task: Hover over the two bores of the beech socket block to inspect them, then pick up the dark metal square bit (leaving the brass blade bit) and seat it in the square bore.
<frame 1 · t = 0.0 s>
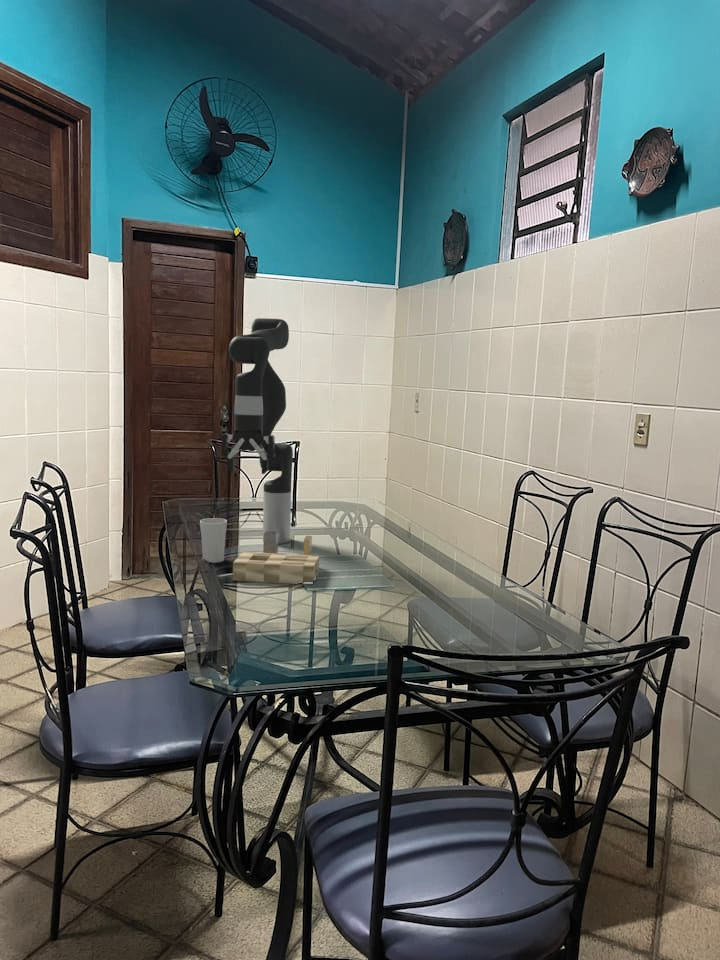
hand: (248, 473, 187), 29 cm above the table, fingers open, 8 cm apart
square bit: (270, 565, 205), on the table
blade bit: (307, 567, 204), on the table
cup: (213, 560, 209), on the table
socket block: (276, 576, 193), on the table
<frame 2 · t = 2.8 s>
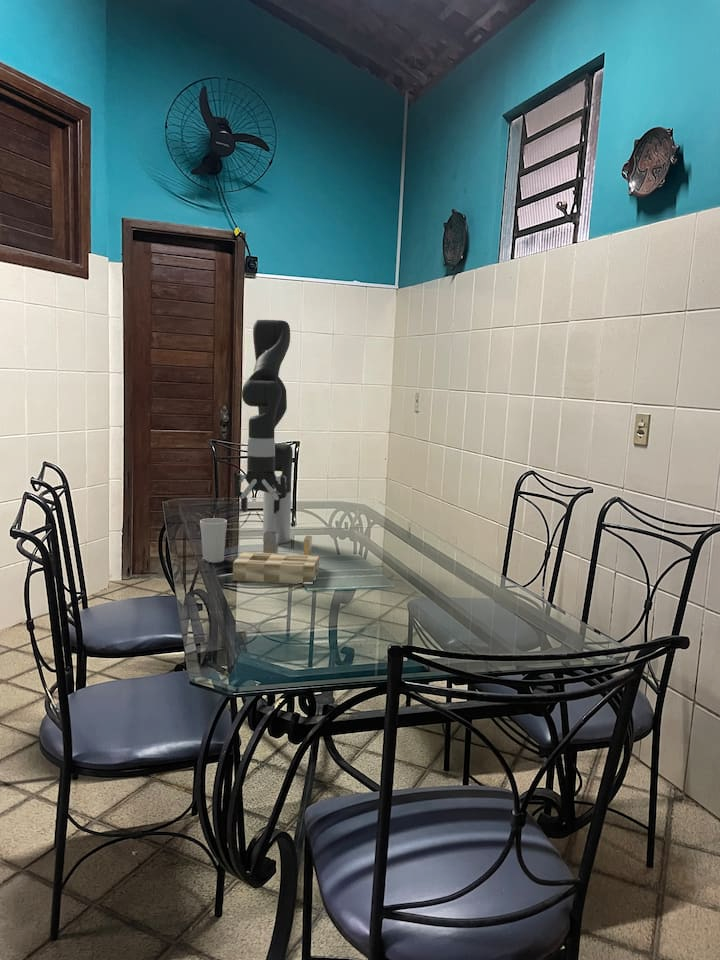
hand: (260, 512, 192), 18 cm above the table, fingers open, 8 cm apart
nothing on the table moved.
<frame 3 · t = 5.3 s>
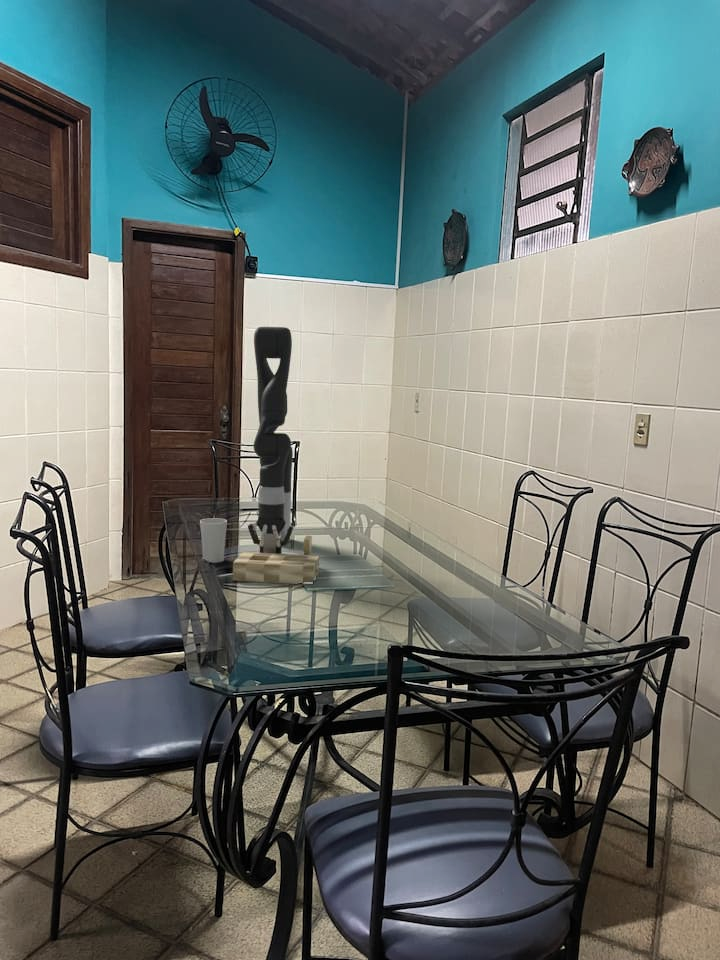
hand: (270, 558, 204), 2 cm above the table, fingers closed on square bit, 3 cm apart
square bit: (270, 565, 205), on the table, touching gripper
everything else where it was.
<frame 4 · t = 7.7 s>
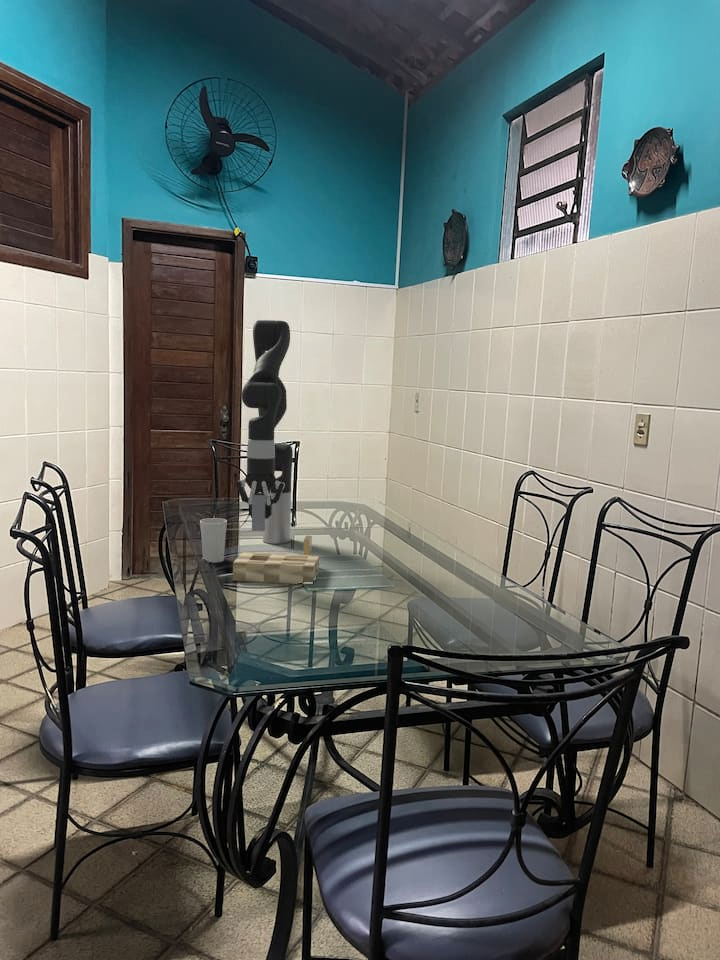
hand: (260, 517, 191), 17 cm above the table, fingers closed on square bit, 3 cm apart
square bit: (259, 529, 191), point 13 cm above the table, touching gripper
everything else where it was.
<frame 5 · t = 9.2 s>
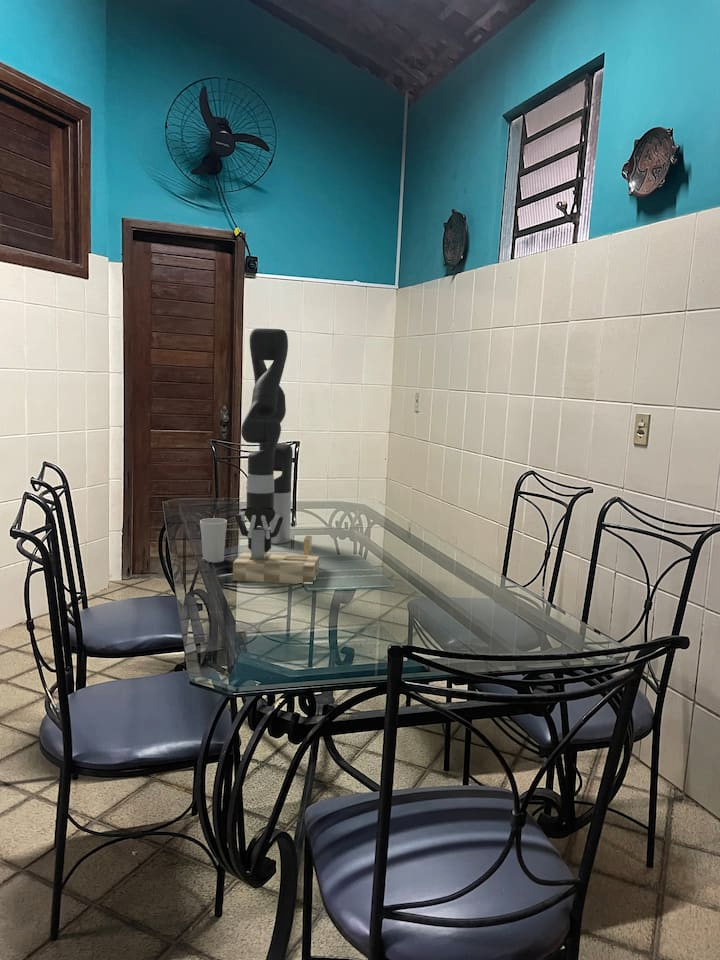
hand: (259, 550, 193), 7 cm above the table, fingers closed on square bit, 3 cm apart
square bit: (259, 563, 193), point 4 cm above the table, touching gripper
everything else where it was.
when the fingers open (6 cm above the table, at t = 10.3 s): square bit drops 2 cm, resting in socket block.
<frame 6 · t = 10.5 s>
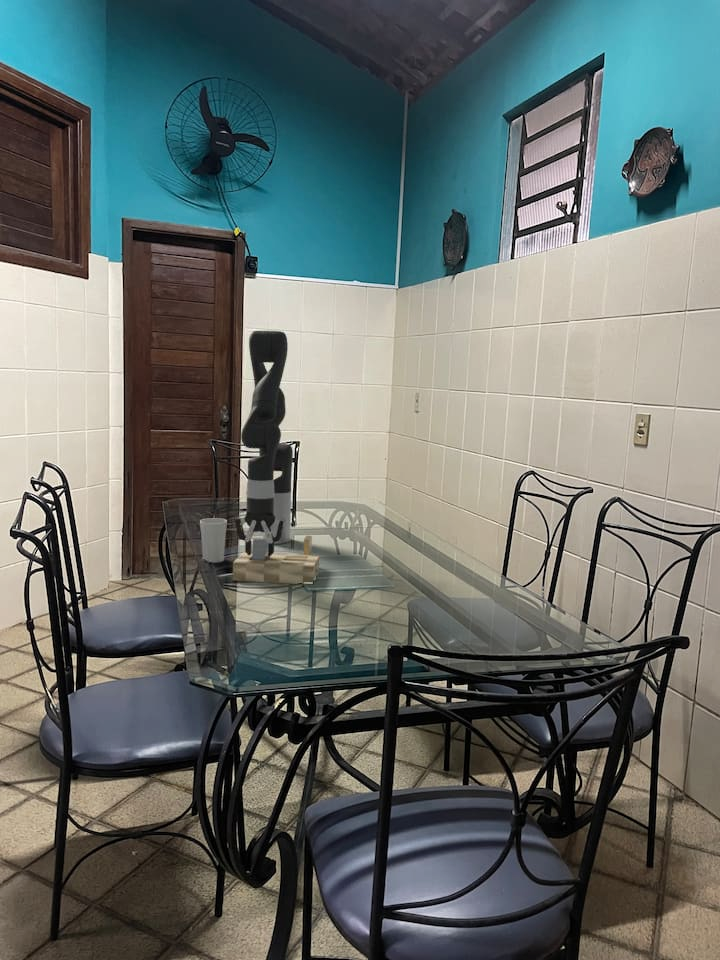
hand: (259, 554, 193), 6 cm above the table, fingers open, 5 cm apart
square bit: (259, 575, 193), resting in socket block, tilted 9°
everything else where it was.
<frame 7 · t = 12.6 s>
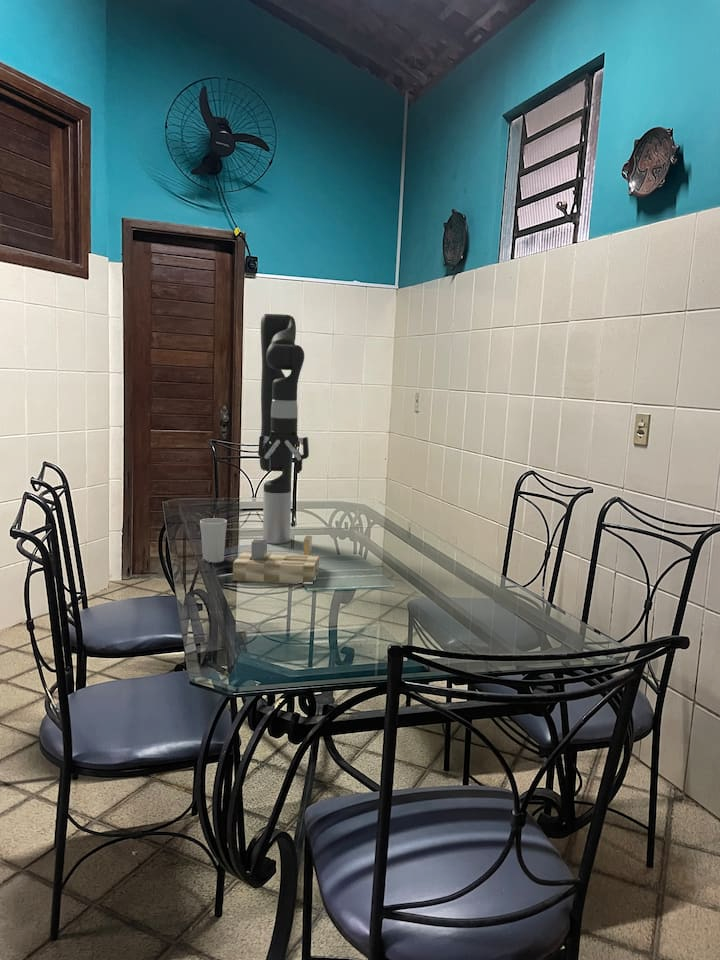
hand: (283, 472, 199), 28 cm above the table, fingers open, 8 cm apart
square bit: (258, 576, 193), resting in socket block
everything else where it was.
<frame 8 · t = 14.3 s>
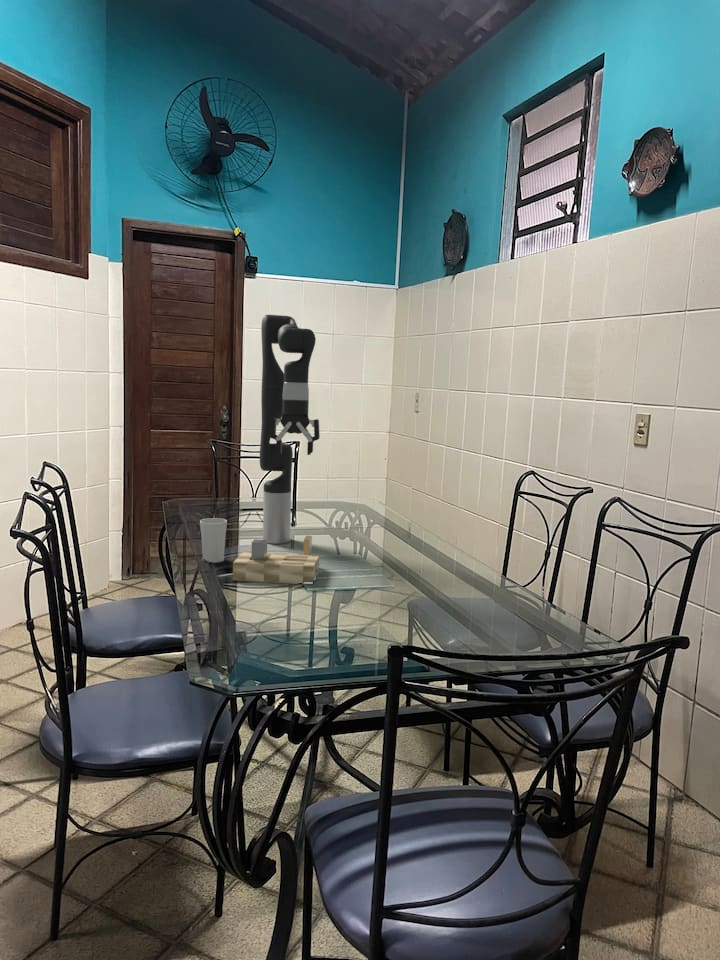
hand: (294, 454, 203), 33 cm above the table, fingers open, 8 cm apart
nothing on the table moved.
at the end: square bit 0.5 cm from the target spot on the socket block, point 0.0 cm above the socket block's base; square bit tilted 0°; the gripper is holding nothing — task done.
